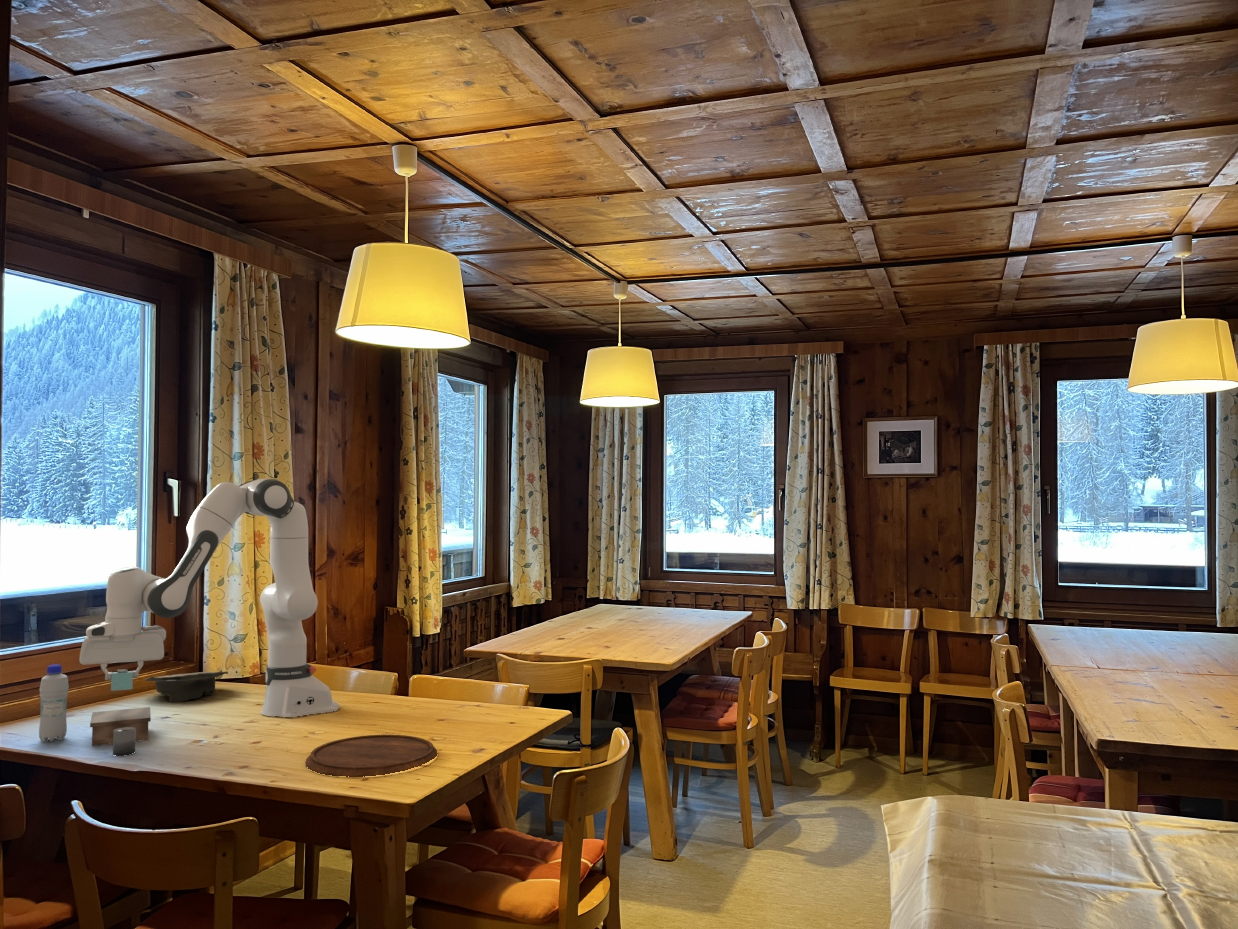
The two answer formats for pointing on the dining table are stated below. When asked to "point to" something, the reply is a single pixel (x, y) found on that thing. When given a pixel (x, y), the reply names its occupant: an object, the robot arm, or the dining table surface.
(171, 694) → the stone bowl
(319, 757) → the cutting board
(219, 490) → the robot arm
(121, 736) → the tin
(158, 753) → the dining table surface
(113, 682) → the block
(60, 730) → the bottle
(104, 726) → the stand
